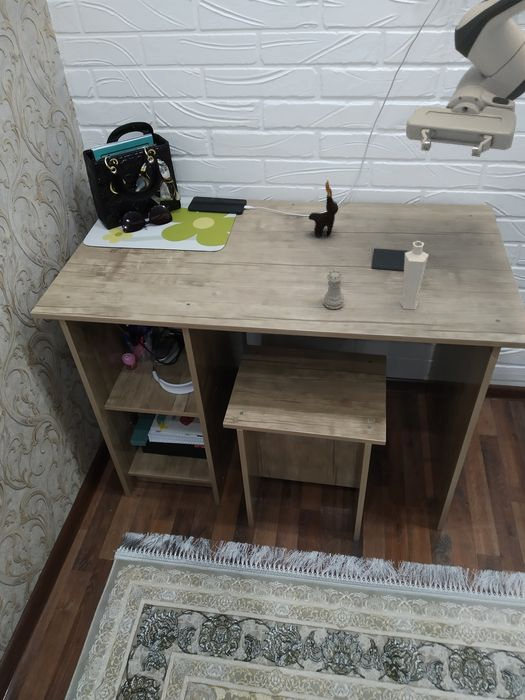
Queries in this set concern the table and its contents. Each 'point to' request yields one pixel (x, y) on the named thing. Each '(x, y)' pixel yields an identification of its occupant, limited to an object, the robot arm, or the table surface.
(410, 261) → the perfume bottle
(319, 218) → the figurine
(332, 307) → the rook chess piece
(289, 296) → the table surface
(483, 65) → the robot arm
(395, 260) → the mat
